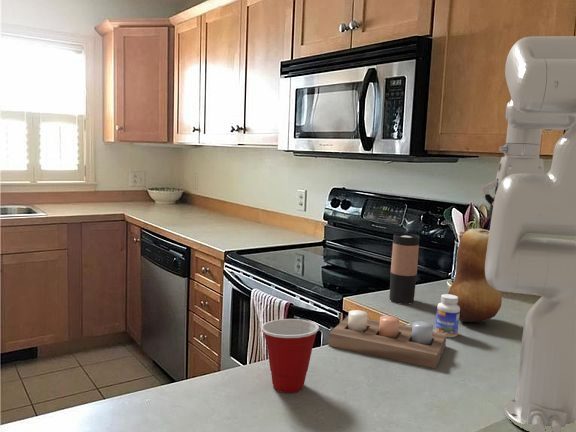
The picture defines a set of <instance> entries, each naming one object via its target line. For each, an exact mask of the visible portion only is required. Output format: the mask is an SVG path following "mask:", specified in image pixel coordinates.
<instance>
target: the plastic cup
mask: <svg viewBox="0 0 576 432" xmlns="http://www.w3.org/2000/svg"><path fill="white" fill-rule="evenodd" d="M260 327H261V332H262V333H263V335H264V339H265V344H266V345H267V348H266V349H267V354H268V361H269V370H270V373H271V374H270V375H271V382H272V387H273V388H274V390H276V391H278V392H280V393H284V394H293V393H298V392H301V390H303V388H304V386H305V381H306V377H307V374H308V369H309V365H310V361H311V357H312V356H311V355H312V352H313V346H314V344H315V339H316V337H317V336H316V335H317V334H318V333H317V332H318V331H320V327H319V325H318V323H315V322H313V321H311V320H307V319H298V318H297V319H296V318H284V319H283V318H282V319H273V320H271V321H267V322H264V323H263V324H262V325H261V326H260Z"/></svg>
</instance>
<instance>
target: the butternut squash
mask: <svg viewBox="0 0 576 432" xmlns="http://www.w3.org/2000/svg"><path fill="white" fill-rule="evenodd" d="M489 232H490V230H488V229H484V228H480V227H479V228H470V229H467V230H466V231H465V232H463V234H462V235H461V237H460V239H459V240H460V241H459V243H458V244H459V245H458V249H457V253H456V265H455V277H454V280H453V282H452V284H451V285H450V287H449V291H448V293H447V294H451V295H455V296H457V297H458V303H457V305H458V306H459V307H460V315H459V320H461V321H462V322H465V323H474V324H475V323H478V324H479V323H483V322H485V321H489V320H490V319H493V318H494V317H495V316H496V315H497V314H498V312H499V311H500V309H501V307H502V302H503V299H502V291H498V290H495V289H493V288H492V287H491V286H490V285H489V284H488V283H487V281H486V277H485V260H486V252H487V245H488V239H489Z"/></svg>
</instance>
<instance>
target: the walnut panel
mask: <svg viewBox="0 0 576 432" xmlns="http://www.w3.org/2000/svg"><path fill="white" fill-rule="evenodd" d="M348 317H349V315H347V316H346V317H345V318H344V319H343V320H342V321H340V323H338V324H337V325H336V326H335V327H334V328H333V329H332V330H331V331H329V332H328V346H329V347H333V348H339V349H342V350H348V351H353V352H355V353H356V352H358V353H362V354H366V355H371V356H376V357H379V358H380V357H381V358H384V359H390V360H394V361H399V362H403V363H409V364H414V365H419V366H422V367H427V368H432V369H437V367H438V364H439V362H440V360H441V358H442V355H443V353H444V351H445V348H446V346H447V345H446V344H447V337H446V335H447V334H445V333H440V332H435V330H433V331H432V343H431V345H425V344H420V343H414V342H412V341H411V338H412V326H406V325H400V324H399V332H398V338H396V339H394V338H389V337H384V336H379V324H380V320H374V319H370V318H369V319H368V318H367V330H366V332H358V331H353V330H348Z"/></svg>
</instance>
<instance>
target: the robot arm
mask: <svg viewBox="0 0 576 432" xmlns="http://www.w3.org/2000/svg"><path fill="white" fill-rule="evenodd" d="M504 67H505V68H504V70H505V73H504V75H505V76H504V77H505V82H506V85H507V88H508V92H509V95H510V100H509V101H508V102H507V104H506V109H505V120H506V121H507V129H506V139H505V143H504V145H499V148H498V151H499V152H500V153H501V152H502V153H503V155H504V156H501V158H500V162H499V163H498V167H497V173H496V177H495V180H493V181H490V182H489V183H487V184H484V185H482V186H480V192H481V194H482V195H483V198H484V199H485V201H486V202H487V203H488V205H489V213H488V214H489V215H488V218H489V219H490V226H489V231H490V232H489V239H488V245H487V252H486V260H485V277H486V281H487V283H488V284H489V285H490V286H491V287H492V288H493V289H495V290H498V291H501V292H504V293H513V294H524V295H533V296H539V297H540V298H539V299H537V301H535V303H534V304H533V305H531V307H530V308H529V310H528V311H527V313H526V314H525V316H524V317H525V318H524V322H523V328H522V329H523V331H522V336H521V337H522V339H521V346H520V353H519V354H520V356H519V365H518V373H517V383H516V389H515V391H516V393H515V397H513V398H511V399H509V400H508V401H506V403H505V404H504V415H505V417H506V418H507V419H508V420H509V419H510V420H512V421H515V422H517V423H521V424H525V423H526V422H527V424H532V430H533V432H545V431H546V429H545V426H551V429H552V432H561V427H565V425H566V424H570V423H573V422H574V421H575V420H576V240H571V239H562V238H552V237H551V238H550V237H529V236H525V235H527V234H535V235H536V234H538V235H547V236H549V235H550V236H563V237H564V236H565V237H576V36H575V35H562V36H560V35H555V36H554V35H552V36H551V35H549V36H543V35H542V36H541V35H540V36H537V35H534V36H532V35H531V36H525V37H522V38H520V39H519V40H517V41H516V42H515V43H514V44H513V46H512V47H511V48H510V50H509V52H508V54H507V56H506V61H505V66H504ZM543 130H550V131H551V130H554V131H564V130H566V131H565V132H564V134H563V135H561V136H560V138H558V140H557V142H556V143H555V145H554V149H553V153H552V160H551V167H550V170H549V171H548V172H547V173H545V167H544V159H543V158H540V152H541V143H542V134H543ZM491 189H494V196H493V197H492V195H490V190H491ZM510 420H509V421H510Z"/></svg>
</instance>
